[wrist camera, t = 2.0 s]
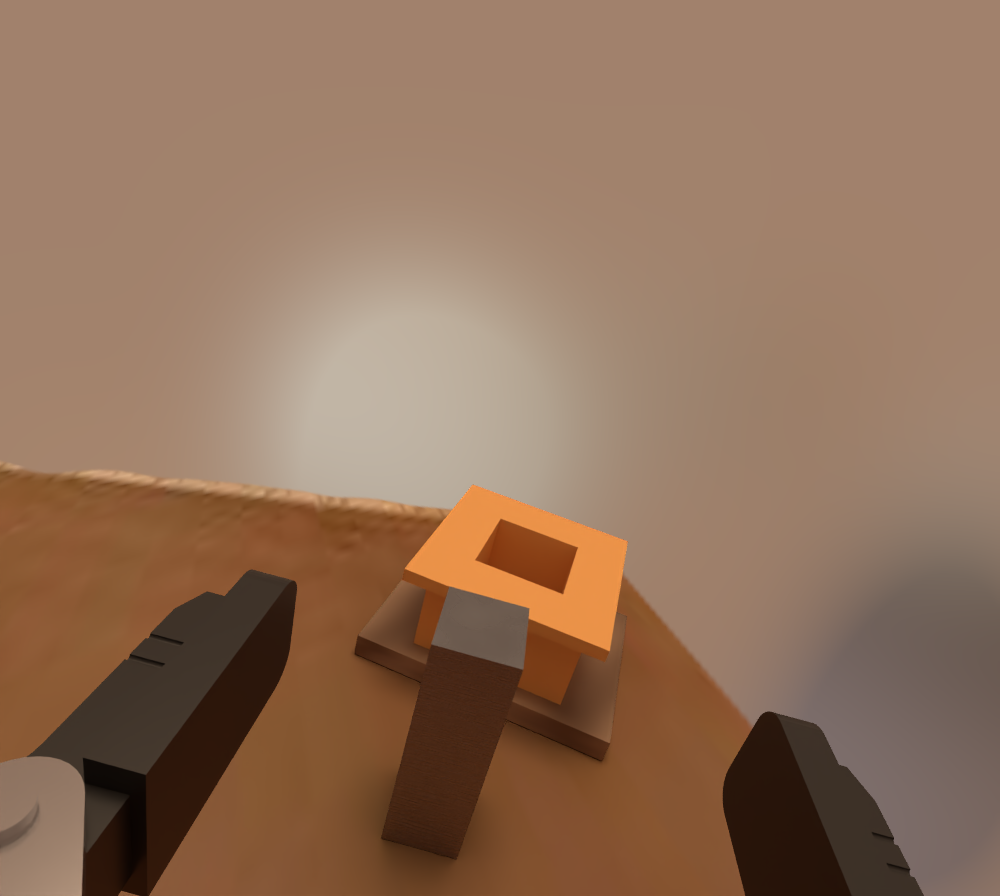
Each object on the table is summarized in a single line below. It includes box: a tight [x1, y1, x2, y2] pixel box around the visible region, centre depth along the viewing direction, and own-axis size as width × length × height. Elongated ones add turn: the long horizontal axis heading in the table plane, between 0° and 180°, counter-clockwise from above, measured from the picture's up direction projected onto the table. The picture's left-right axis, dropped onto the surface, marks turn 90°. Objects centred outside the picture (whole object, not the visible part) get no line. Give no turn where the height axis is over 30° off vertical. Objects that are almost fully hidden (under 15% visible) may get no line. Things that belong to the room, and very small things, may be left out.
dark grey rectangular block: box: [381, 586, 530, 859], centre depth 26 cm, size 4×4×12 cm
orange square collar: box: [402, 485, 628, 705], centre depth 38 cm, size 12×12×6 cm
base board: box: [355, 580, 627, 761], centre depth 40 cm, size 16×12×2 cm
